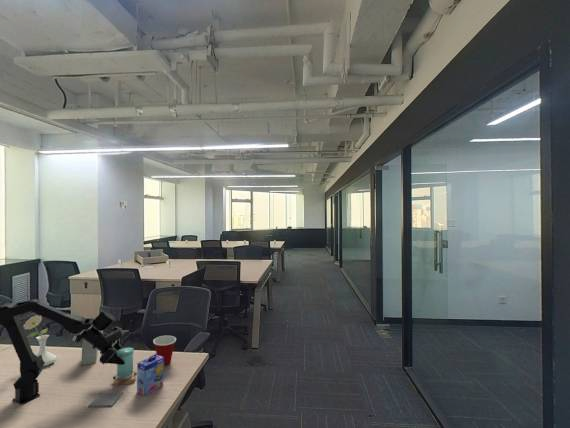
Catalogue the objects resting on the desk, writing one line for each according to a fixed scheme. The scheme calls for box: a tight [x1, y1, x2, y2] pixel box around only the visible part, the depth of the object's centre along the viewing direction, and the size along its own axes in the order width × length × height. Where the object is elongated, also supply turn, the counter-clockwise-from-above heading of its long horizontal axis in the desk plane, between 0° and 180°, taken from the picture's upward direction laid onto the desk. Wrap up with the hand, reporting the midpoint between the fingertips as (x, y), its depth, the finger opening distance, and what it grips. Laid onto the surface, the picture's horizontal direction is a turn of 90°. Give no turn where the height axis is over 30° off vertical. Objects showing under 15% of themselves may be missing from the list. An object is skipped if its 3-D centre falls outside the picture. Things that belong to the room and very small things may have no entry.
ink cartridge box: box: [136, 353, 165, 396], centre depth 132 cm, size 10×6×14 cm, turn 152°
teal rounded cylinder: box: [116, 347, 135, 377], centre depth 139 cm, size 7×7×10 cm
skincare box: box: [80, 339, 99, 366], centre depth 157 cm, size 8×7×16 cm
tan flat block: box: [112, 370, 137, 387], centre depth 138 cm, size 9×8×3 cm
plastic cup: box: [152, 335, 177, 367], centre depth 154 cm, size 11×11×12 cm
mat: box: [87, 391, 124, 408], centre depth 123 cm, size 9×9×1 cm
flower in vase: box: [22, 314, 58, 367], centre depth 153 cm, size 13×11×25 cm
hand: (125, 359), depth 139 cm, fingers open, 9 cm apart
